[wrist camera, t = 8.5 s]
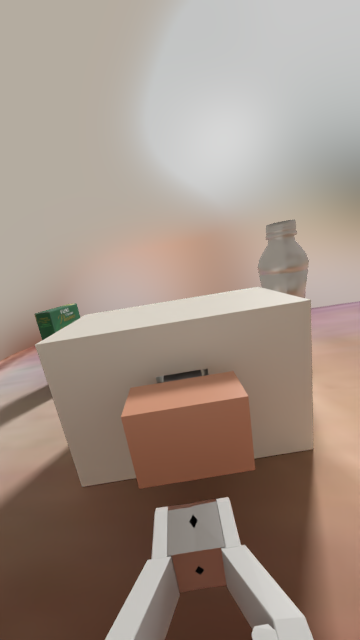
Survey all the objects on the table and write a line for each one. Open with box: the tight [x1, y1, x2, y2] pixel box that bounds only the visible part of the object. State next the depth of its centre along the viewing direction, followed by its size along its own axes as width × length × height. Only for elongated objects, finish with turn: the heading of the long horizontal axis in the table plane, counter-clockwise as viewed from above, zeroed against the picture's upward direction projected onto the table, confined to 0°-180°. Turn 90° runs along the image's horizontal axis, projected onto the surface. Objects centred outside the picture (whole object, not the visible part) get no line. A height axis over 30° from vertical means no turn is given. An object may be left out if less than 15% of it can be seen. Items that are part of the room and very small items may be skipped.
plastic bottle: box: [258, 220, 309, 298], centre depth 32 cm, size 6×7×20 cm
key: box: [121, 370, 255, 489], centre depth 18 cm, size 10×7×5 cm
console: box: [35, 287, 313, 487], centre depth 23 cm, size 10×20×13 cm, turn 92°
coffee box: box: [35, 303, 80, 340], centre depth 40 cm, size 8×3×13 cm, turn 173°
